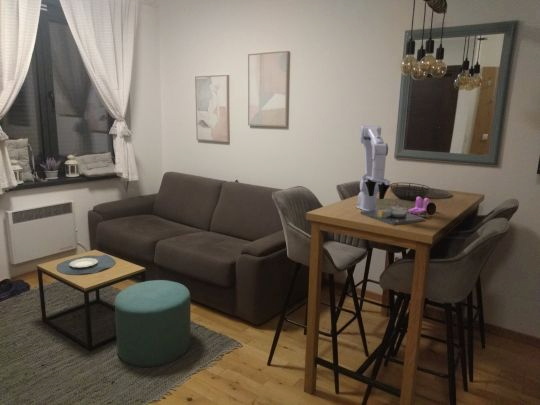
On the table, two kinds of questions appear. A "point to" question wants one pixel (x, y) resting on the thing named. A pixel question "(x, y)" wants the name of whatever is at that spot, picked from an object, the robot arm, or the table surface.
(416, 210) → the bracket
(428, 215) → the compass
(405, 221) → the plate
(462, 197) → the table surface
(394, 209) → the silver disc with handle
